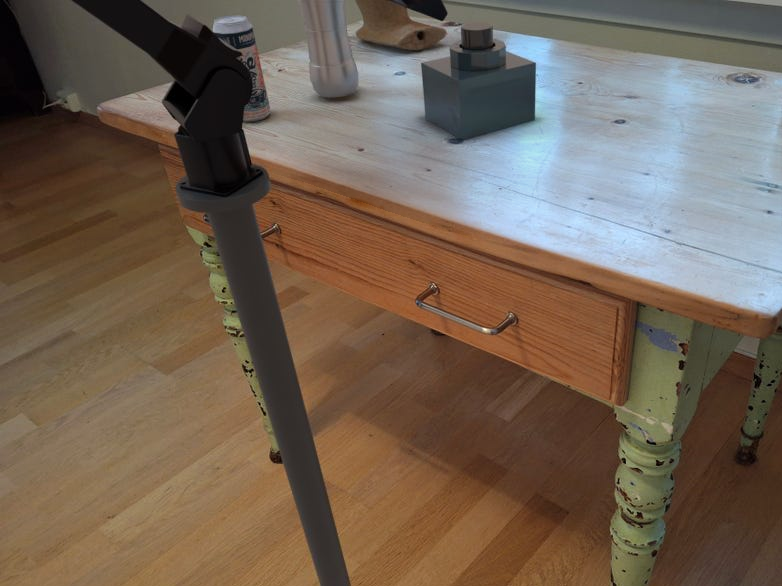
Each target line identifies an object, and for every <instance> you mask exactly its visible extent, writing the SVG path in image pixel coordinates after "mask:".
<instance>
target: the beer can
mask: <svg viewBox="0 0 782 586" xmlns="http://www.w3.org/2000/svg"><path fill="white" fill-rule="evenodd" d="M213 21H214V22H213V26H212V32H213V33H214V34H215V35H216V36H217V37H218V38H220V39H222V40H223V41H225V42H226V43H228V44H229V45H231V46H232V47H234V48H235V49H237V50H239V51H240V52H241V53H242V56H240V57H238V58H237V59H239V60H240V61H241V62H242V63H243V64H244V65H245V66H246V67H247V68H248V69H249V71H250V73H251V75H252V76H251V77H252V82H253V91H252V96H251V98H250V100H249V103H248V104H247V105H246V106H245V107H244V115H243V122H247V123H248V122H249V123H251V122H258V121H262V120H264V119H266V118H267V117H268V116H269V115H270V114H271V112H272V110H271V105H270V101H269V97H268V92H267V88H266V82H265V78H264V74H263V69H262V64H261V59H260V55H259V50H258V45H257V42H256V37H255V32H254V28H253V24H251V22H250V21H249V19H248V18H247V16H245V15H239V14H237V15H226V16H221V17H218V18H216V19H214V20H213Z"/></svg>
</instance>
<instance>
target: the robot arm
mask: <svg viewBox="0 0 782 586" xmlns="http://www.w3.org/2000/svg"><path fill="white" fill-rule="evenodd" d="M70 1H72V2H73V3H74V4H76V5H77V6H78V7H80V8H81V9H82V10H84V11H86V12H87V13H88V14H90V15H91V16H93V17H94V18H96V19H97V20H99V21H100V22H102V23H103V24H104V25H106V26H107V27H109V28H110V29H112V30H113V31H114V32H116V33H117V34H119V35H120V36H121V37H122V38H125V39H126V40H127V41H129V42H130V43H131V44H133V45H134V46H136V47H137V48H139V49H140V50H142V51H144V53H146V54H147V55H148V56H149V57H150V58H151V59H152V60H153V61H154V62H155V63H156V64H158V65H159V67H161V68H162V70H164V71H165V72H166V73H167V74H168V75H169V76H170V78H172V79H173V81H172V83H171V85H170V86H169V88H168V90H167V91H166V93H165V94H164V97H163V98H162V100H161V104H162V105H163V107H164V108H165V110H166V111H167V113H168V114H169V115H170V116H171V118H172V119H173V120H174V121H176V123H178V124H179V126H178V128H177V131H176V132H174V133H173V136H174V139H175V142H176V146H177V149H178V153H179V155H180V159H181V161H182V165H183V168H184V170H185V174H186V175H187V178H188V179H186V180H184V181H183V182H181V183H179V187H180V189H184V190H189V191H194V192H199V193H204V194H209V195H214V196H219V197H228V196H230V195H231V194H233V193H235V192H236V191H238V190H239V189H241V188H242V187H244V186H246V185H247V184H249V183H250V182H252V181H253V180H255V179H257V178H258V177H260V176H261V175H263V170H262V169H259V168H253V167H251V165H252V164H253V163H252V158H251V155H250V150H249V147H248V143H247V138H246V134H245V131H244V129H243V124H244V121H243V115H244V107H245V106H246V105H247V104H248V103H249V100H250V98H251V96H252V91H253V82H252V77H251V76H252V75H251V73H250V71H249V69H248V68H247V67H246V66H245V65H244V64H243V63H242V62H241V61H240V60H239V59H237V58H238V57H240V56H242V53H241V52H240V51H239V50H237V49H235V48H234V47H232V46H231V45H229V44H228V43H226V42H225V41H223V40H222V39H220V38H218V37H217V36H216V35H215V34H214V32H213V30H211V29H210V27H208V26H207V25H206V24H204V23H203V22H201V21H200V20H198V19H197V18H196V17H194V16H192V15H190V14H189V13H187V14H185V17H184V19H183V22H182V24H181V25H180V24H178V23H176V22H174V21H172V20H171V19H168V18H166V17H165V16H162V15H161V14H160V13H158V12H157V11H156V10H154V9H153V8H152V7H151V6H149V5H148V4H146V3H145V2H144V1H143V0H70ZM387 1H390V2H392V3H395V4H397V5H400V6H403V7H405V8H407V10H410V11H413V12H417V13H418V14H422V15H424V16H426V17H429V18H432V19H435V20H438V21H440V22H444V21H445V20H446V17H448V10H447V8H446V6H445V4H444V2H443V0H387ZM186 175H185V176H186Z"/></svg>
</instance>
